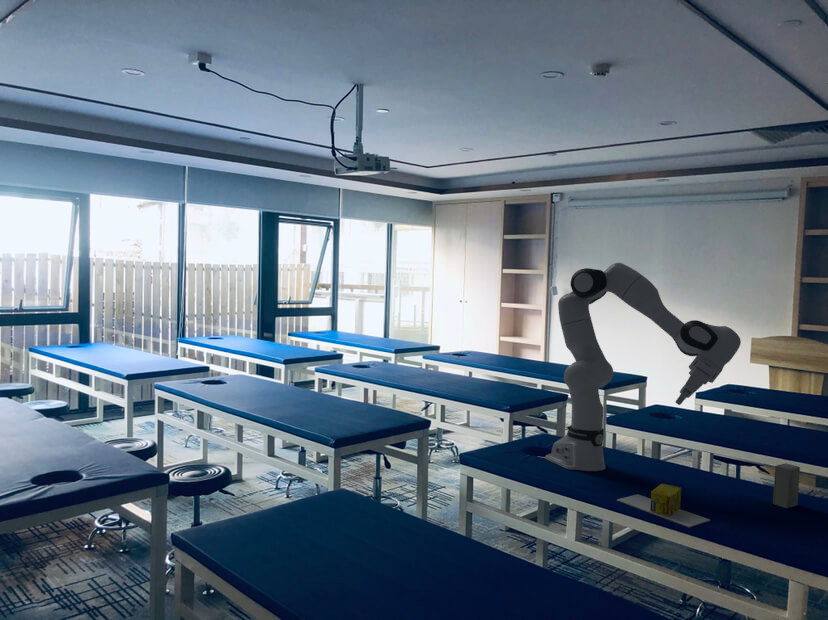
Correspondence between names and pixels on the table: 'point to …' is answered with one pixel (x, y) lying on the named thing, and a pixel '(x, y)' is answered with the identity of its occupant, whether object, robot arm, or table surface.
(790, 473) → the skincare box
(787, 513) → the table surface
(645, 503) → the mat
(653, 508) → the supplement box
